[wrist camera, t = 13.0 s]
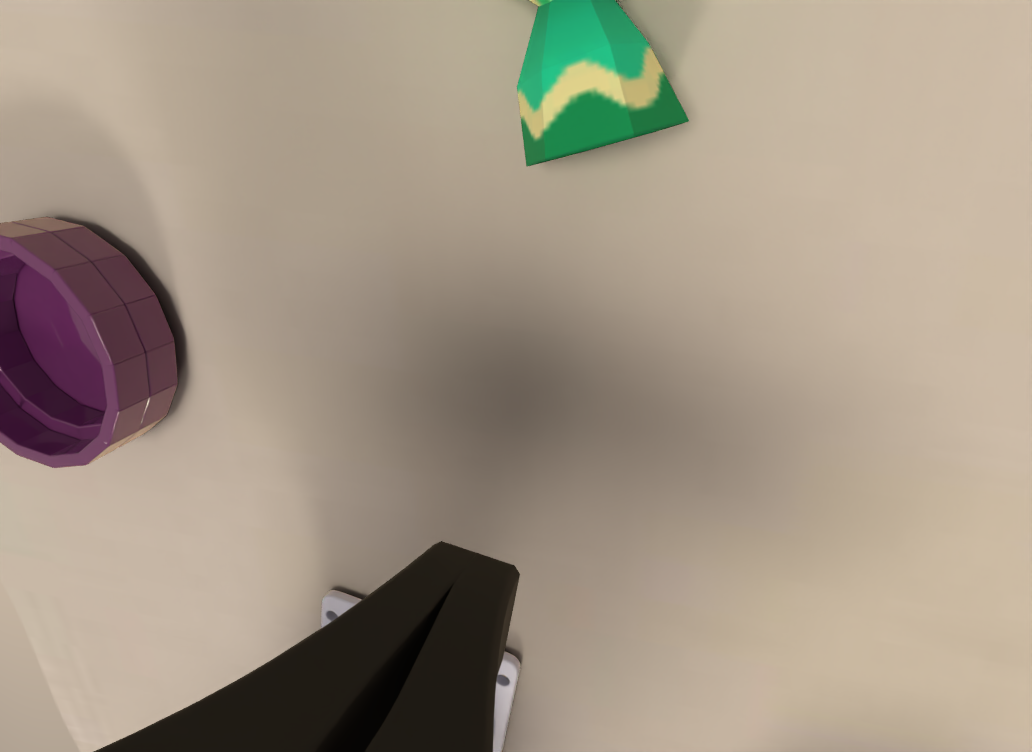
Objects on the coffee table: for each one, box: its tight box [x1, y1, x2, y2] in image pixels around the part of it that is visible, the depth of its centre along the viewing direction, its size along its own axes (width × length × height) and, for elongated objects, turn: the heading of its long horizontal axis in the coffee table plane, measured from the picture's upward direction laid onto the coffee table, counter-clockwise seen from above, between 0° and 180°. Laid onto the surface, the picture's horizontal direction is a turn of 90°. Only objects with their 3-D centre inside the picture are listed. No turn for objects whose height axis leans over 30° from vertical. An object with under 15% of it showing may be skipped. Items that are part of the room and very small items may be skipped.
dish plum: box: [0, 217, 178, 468], centre depth 22 cm, size 8×8×3 cm
